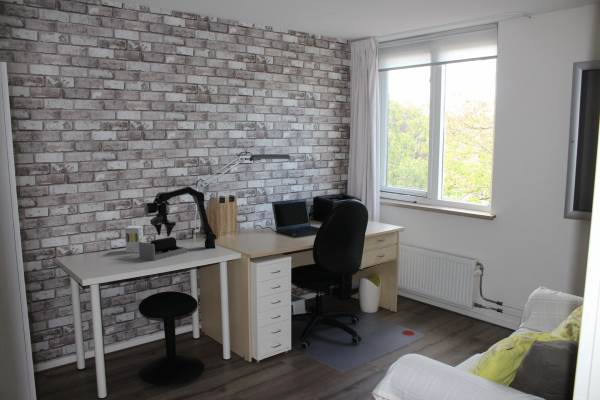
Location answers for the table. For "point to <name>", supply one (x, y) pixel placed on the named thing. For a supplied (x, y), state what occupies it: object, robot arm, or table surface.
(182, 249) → the case
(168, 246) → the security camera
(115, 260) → the table surface
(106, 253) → the table surface
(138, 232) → the supplement box
